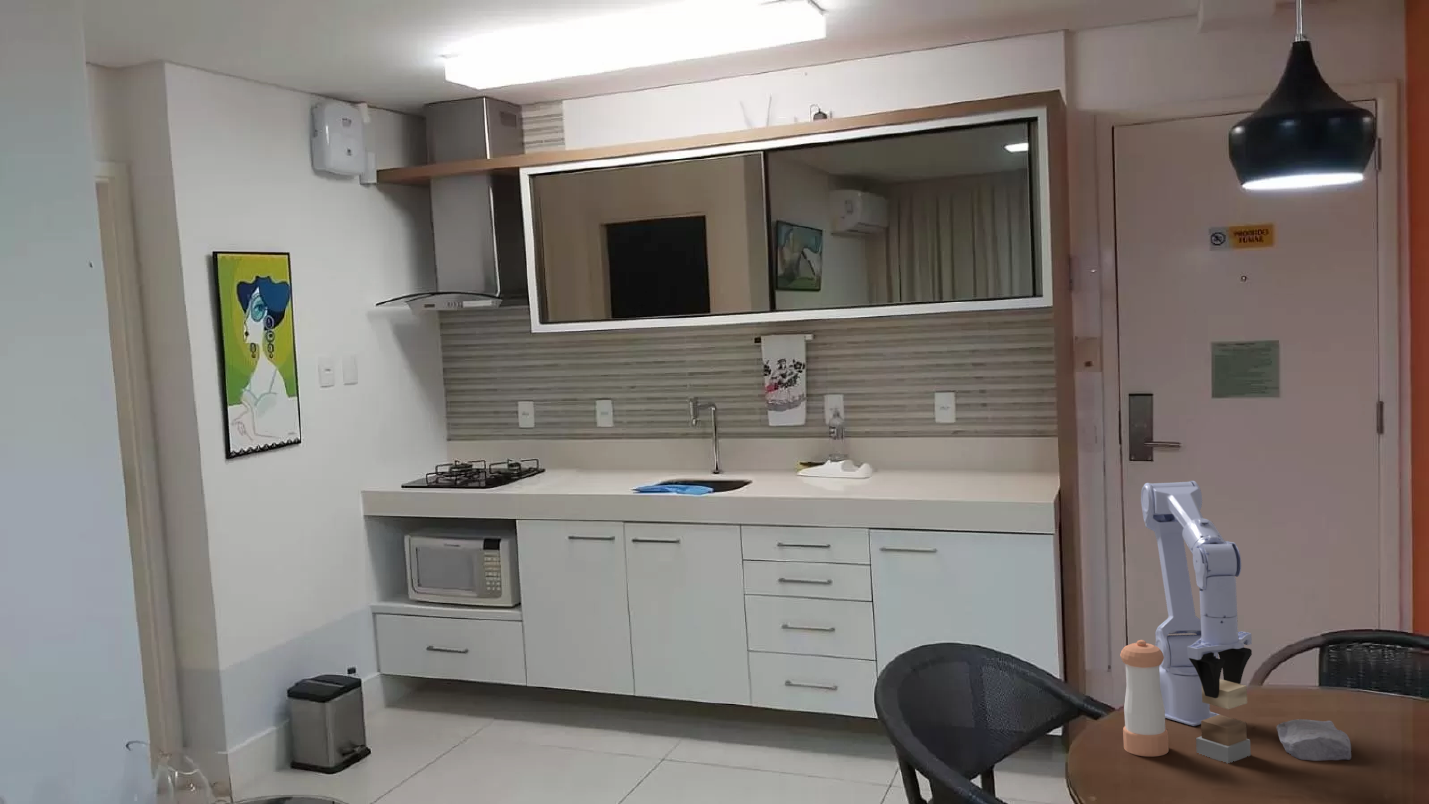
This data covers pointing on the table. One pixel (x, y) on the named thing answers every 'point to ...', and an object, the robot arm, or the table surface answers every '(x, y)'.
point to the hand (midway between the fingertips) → (1221, 693)
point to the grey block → (1223, 750)
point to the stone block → (1314, 740)
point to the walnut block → (1223, 730)
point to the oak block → (1228, 695)
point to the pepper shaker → (1144, 701)
